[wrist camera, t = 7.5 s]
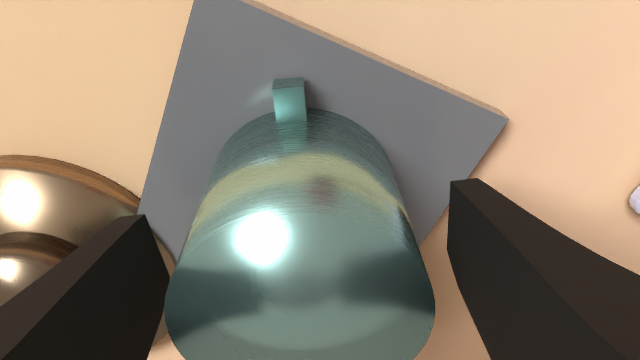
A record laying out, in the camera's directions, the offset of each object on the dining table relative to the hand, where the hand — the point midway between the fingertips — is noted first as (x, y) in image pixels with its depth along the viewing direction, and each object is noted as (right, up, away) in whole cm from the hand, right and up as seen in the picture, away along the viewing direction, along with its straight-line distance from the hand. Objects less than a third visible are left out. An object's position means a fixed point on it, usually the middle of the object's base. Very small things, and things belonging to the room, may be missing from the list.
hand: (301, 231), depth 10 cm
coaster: (0, +1, +2) cm, 2 cm away
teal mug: (0, +1, +2) cm, 2 cm away
